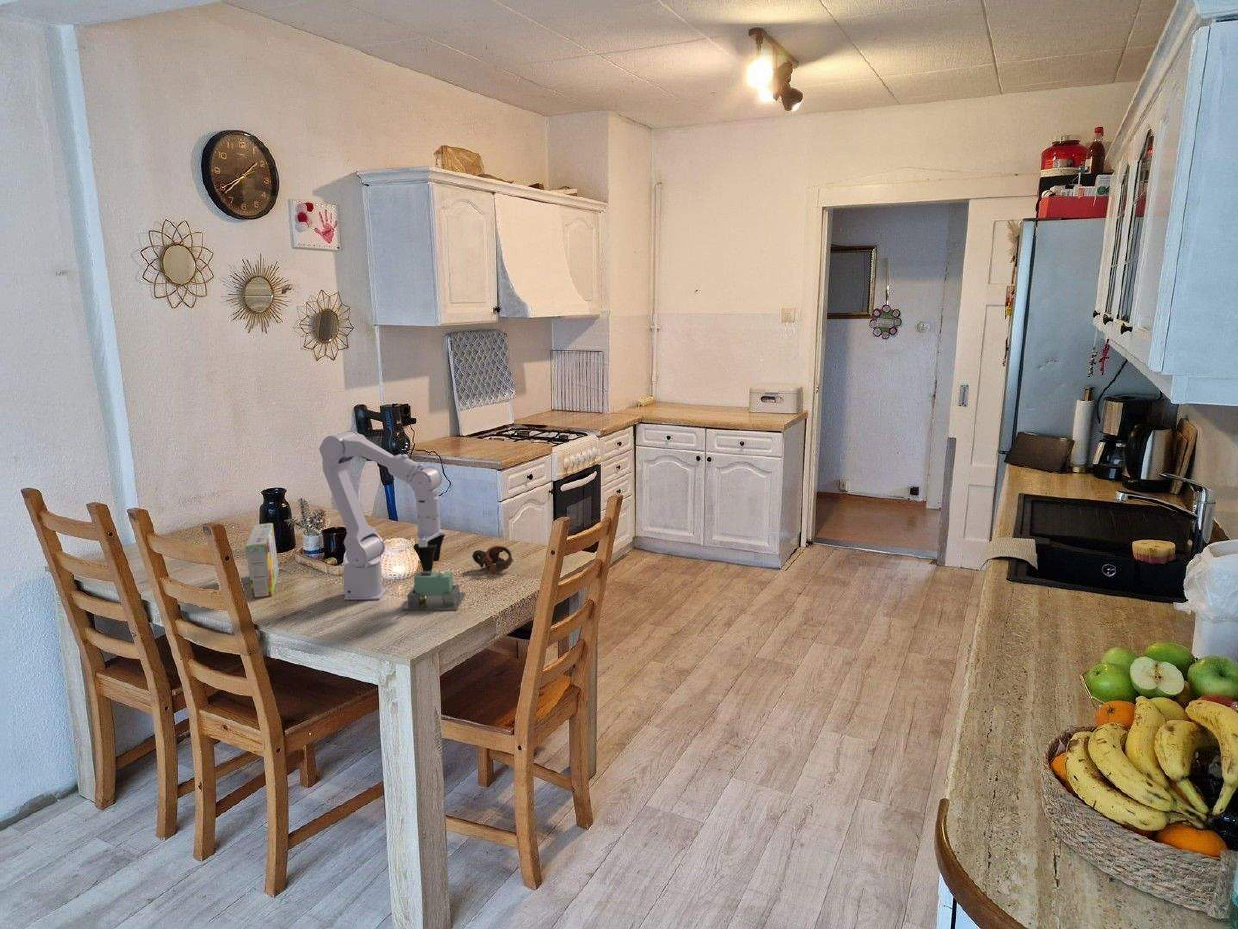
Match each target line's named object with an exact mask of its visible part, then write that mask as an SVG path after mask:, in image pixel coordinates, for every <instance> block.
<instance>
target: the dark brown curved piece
mask: <svg viewBox="0 0 1238 929" xmlns="http://www.w3.org/2000/svg"><path fill="white" fill-rule="evenodd" d="M503 552H505V553H506V554H507V558H506V559H505V558H502V557H500V556H499V555H500V554H501V553H503ZM471 557H472V559H473V561H474V562H475V563H476V564H477V565H479V566H480V568H481V569H483V568H487V567H489V571H488V574H489V575H491V576H495V574H497V573H501V572H503V571H505V570H506V569H508V568H509V567H510V566H511V565H512V564H513V562H514V559H513V557H512V553H511V551H510V549H509V548H507V547H506V546H502V545H493V546H490V547H489V548H487V550H486V551H484V550H481V549H476V550H474V551H473V553H472V555H471Z"/></svg>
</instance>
